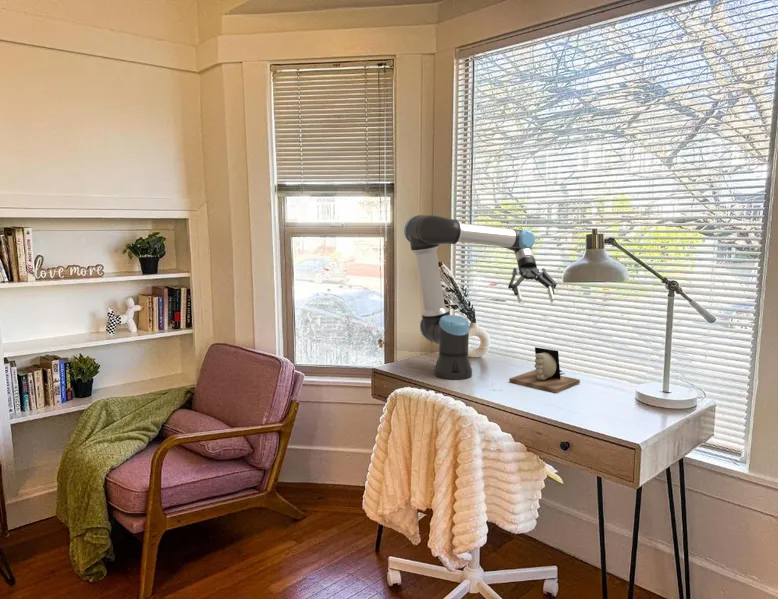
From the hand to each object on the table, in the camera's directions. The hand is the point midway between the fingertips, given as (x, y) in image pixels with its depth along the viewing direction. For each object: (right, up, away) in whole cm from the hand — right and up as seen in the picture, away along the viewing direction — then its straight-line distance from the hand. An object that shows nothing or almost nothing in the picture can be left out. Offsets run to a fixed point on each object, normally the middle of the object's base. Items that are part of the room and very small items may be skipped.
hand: (536, 300), depth 237 cm
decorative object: (0, -30, -13) cm, 33 cm away
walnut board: (0, -32, -13) cm, 34 cm away
